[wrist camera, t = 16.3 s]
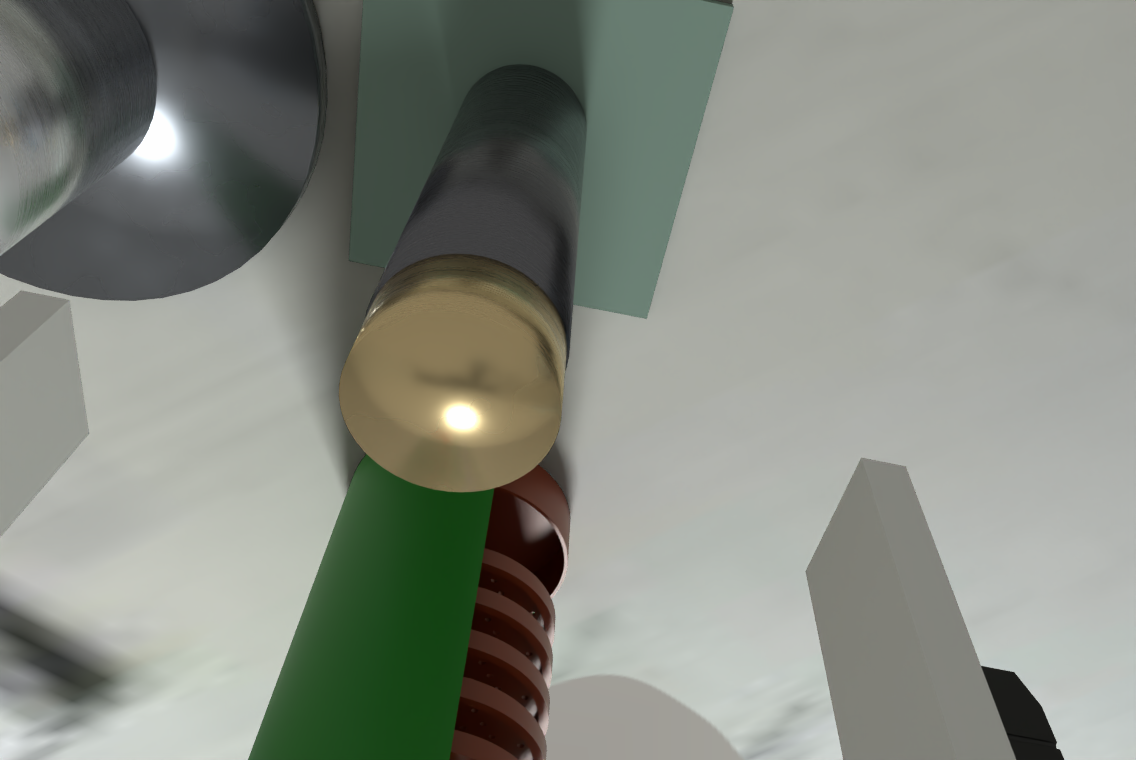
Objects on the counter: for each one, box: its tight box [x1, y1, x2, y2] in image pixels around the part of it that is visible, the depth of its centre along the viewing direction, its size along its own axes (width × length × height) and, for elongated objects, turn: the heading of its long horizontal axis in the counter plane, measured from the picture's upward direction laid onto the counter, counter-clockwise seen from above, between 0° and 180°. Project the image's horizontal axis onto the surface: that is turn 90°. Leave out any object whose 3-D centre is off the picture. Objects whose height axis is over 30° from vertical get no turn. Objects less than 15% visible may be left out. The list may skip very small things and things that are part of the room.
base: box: [0, 0, 327, 301], centre depth 26 cm, size 16×16×1 cm
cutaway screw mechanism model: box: [248, 454, 570, 760], centre depth 28 cm, size 10×9×20 cm
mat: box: [349, 0, 734, 319], centre depth 27 cm, size 10×10×1 cm
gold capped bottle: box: [339, 64, 587, 492], centre depth 21 cm, size 4×4×14 cm
